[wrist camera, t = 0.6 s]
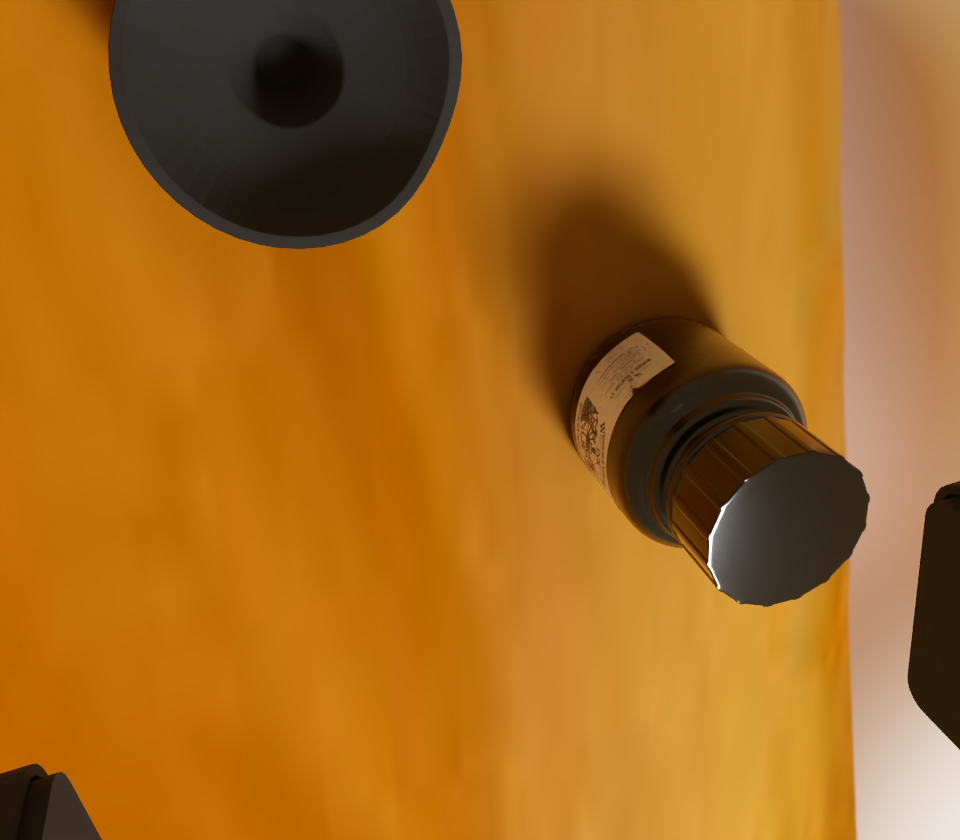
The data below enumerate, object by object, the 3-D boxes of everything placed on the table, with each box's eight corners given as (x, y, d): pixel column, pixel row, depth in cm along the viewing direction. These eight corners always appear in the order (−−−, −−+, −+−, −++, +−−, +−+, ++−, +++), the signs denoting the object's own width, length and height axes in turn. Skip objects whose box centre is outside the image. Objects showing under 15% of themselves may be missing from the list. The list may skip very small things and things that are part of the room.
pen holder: (438, 113, 35) (513, 157, 27) (224, 223, 35) (230, 304, 26) (324, -148, 31) (371, -196, 22) (76, -23, 30) (24, -24, 22)
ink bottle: (571, 312, 41) (697, 428, 30) (746, 298, 43) (919, 401, 32) (560, 497, 45) (667, 654, 35) (719, 476, 47) (865, 618, 37)
